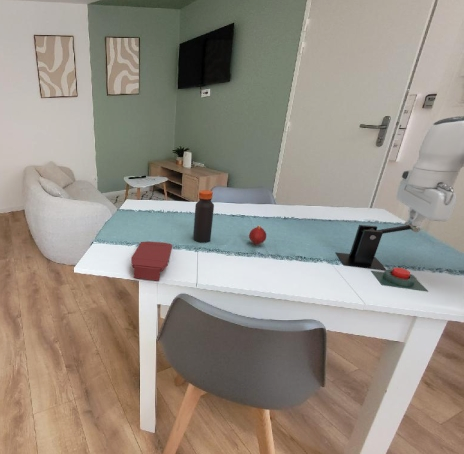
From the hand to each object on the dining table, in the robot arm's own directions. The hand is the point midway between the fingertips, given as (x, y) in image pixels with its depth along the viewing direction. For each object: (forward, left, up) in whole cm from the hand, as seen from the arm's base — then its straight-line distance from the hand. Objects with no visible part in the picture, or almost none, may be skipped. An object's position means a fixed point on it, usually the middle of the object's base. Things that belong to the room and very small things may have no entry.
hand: (413, 224), depth 86 cm
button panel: (+3, +10, -15) cm, 19 cm away
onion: (+39, -6, -15) cm, 43 cm away
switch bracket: (+9, 0, -15) cm, 18 cm away
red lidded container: (+74, +18, -15) cm, 78 cm away
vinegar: (+59, -5, -15) cm, 62 cm away
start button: (+3, +10, -13) cm, 16 cm away
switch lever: (+5, 0, -4) cm, 6 cm away
